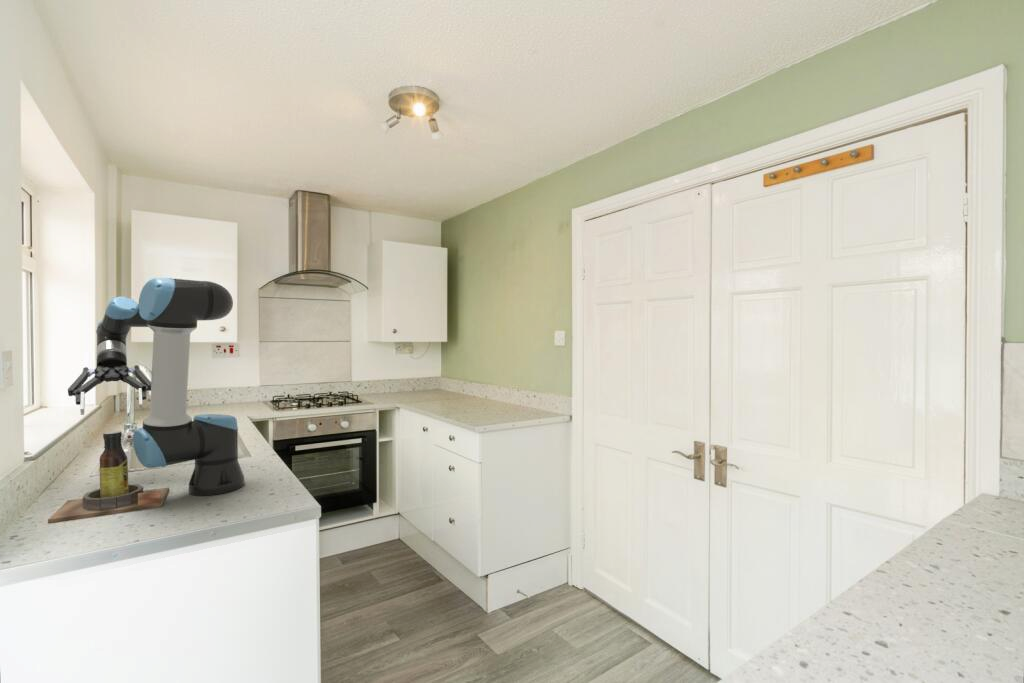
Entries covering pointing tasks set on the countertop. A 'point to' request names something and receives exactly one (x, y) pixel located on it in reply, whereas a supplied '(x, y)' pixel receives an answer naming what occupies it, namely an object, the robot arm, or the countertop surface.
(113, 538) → the countertop surface
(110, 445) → the sauce bottle
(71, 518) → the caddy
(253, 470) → the countertop surface
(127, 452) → the white cube
